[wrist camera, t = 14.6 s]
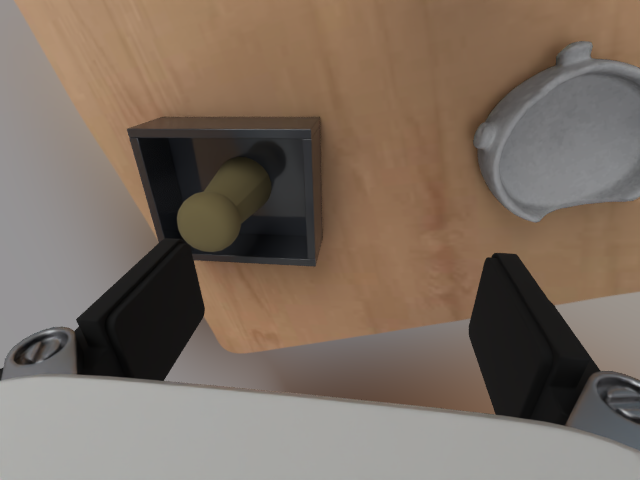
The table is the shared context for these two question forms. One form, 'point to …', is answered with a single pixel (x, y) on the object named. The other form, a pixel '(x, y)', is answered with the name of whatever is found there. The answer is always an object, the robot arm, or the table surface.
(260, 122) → the open box
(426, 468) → the robot arm
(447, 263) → the table surface
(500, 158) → the dish
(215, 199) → the olive pawn
